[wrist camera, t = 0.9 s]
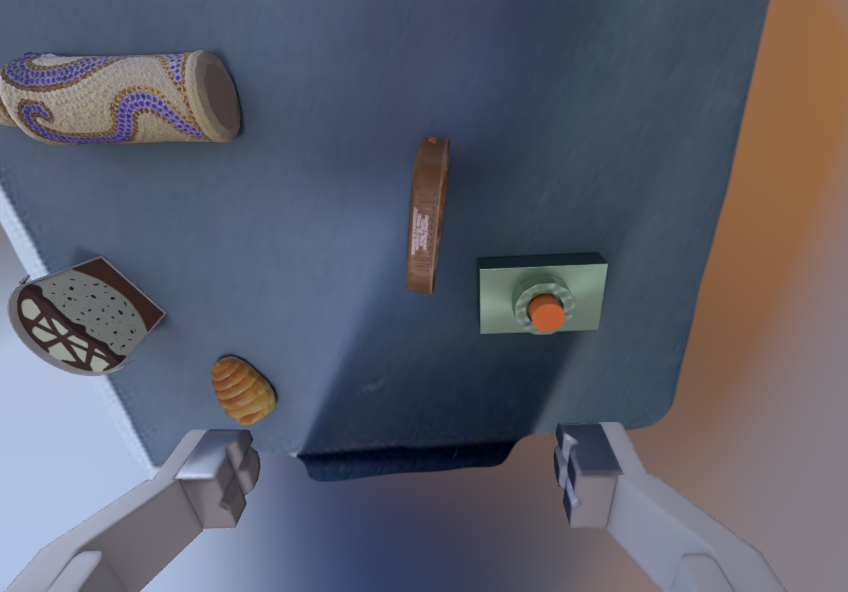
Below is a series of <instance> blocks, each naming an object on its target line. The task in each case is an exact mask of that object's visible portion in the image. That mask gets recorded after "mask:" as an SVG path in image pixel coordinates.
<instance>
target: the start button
mask: <svg viewBox="0 0 848 592" xmlns="http://www.w3.org/2000/svg"><path fill="white" fill-rule="evenodd" d="M529 314H530V317H531V319H532V322H533V325H534V326H535V327H536V328H537V329H539V330H541V331H552V330H555V329H557V328H558V327H560V326H561V324H562V323H563V321H564V318H565V314H564V311H563V309H562V307H561V305H560V303H559V301H558V300H557V299H556V298H555V297H554V296H551V295H540V296H538V297H536V298H534V299H533V300H532V301H531V303H530V305H529Z"/></svg>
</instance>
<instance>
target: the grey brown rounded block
mask: <svg viewBox="0 0 848 592" xmlns="http://www.w3.org/2000/svg"><path fill="white" fill-rule="evenodd" d="M29 277H30V275H27V277H25V278H24V279H23V280H21V281H20V282H19V283H18V284H17V285H16V287H15V288H14V290H13V291H12V292H11V294H10V297H9V299H8V305H7V309H8V316H9V320H10V323H11V325H12V327H13V329H14V331H15V332H16V334H17V336H18V337H19V338H20V339H21V341H22V342H23V343H24V344H25V345H26V346H27V347H28V348H29V349H30V350H31V351H32V352H33V353H34V354H36V355H37V356H38V357H40V358H41V359H43V360H44V361H45V362H47V363H49V364H51V365H53V366H54V367H57V368H59V369H61V370H64V371H67V372H70V373H73V374H77V375H83V376H101V375H106V374H109V373H112V372H115V371H118V370H120V369H121V368H123V367H125V366H127V365H128V364H130V363H132V362H133V361H135V360H132V361H130V362H128V363H126V364H124V362H125V361H126V360H127V359H128V358H129V357H130V355H131V354H132V353H133V352H134V351H135V350H136V349H137V347H138V346H139V345H140V344H141V343H142V342H143V341H144V339H145V338H146V337H147V336H148V335H149V334H150V332H151V331H152V330H153V329H154V328H155V327H156V326H157V324H158V323H159V322H160V321H161V320H162V319H163V318H164V316H165V315H166V314H167V313H166V312H165V311H164V310H163V309H162V308H161V307H160V306H159V305H157V304H156V303H155V302H154V301H153V300H152V299H151V298H150V297H148V296H147V295H146V294H145V293H144V292H143V291H142V290H141V289H139V288H138V287H137V286H136V285H135V284H134V283H133V282H132V281H130V280H129V279H128V278H127V277H126V276H125V275H124V274H123V273H121V272H120V271H119V270H118V269H117V268H116V267H115V266H114V265H112V264H111V263H110V262H109V261H108V260H107V259H106V258H105V257H103V256H102V255H101V256H98V257H95V258H92V259H90V260H87V261H84V262H82V263H79V264H76V265H74V266H71V267H68V268H65V269H63V270H60V271H57V272H55V273H52V274H49V275H47V276H44V277H41V278H38V279H36V280H33V281H30V282H28V283H26V281H27V279H28V278H29ZM123 364H124V365H123Z"/></svg>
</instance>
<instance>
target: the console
mask: <svg viewBox="0 0 848 592" xmlns="http://www.w3.org/2000/svg"><path fill="white" fill-rule="evenodd" d="M607 267H608V263H607V262H606V261H605V260H604V258H603V257H602V256H601V255H600V254H599V253H581V254H560V255H539V256H517V257H496V258H478V321H479V328H480V334H490V333H519V332H530V333H533V334H536V335H540V334H552V333H554V332H556V331H577V330H598V328H599V321H600V314H601V308H602V301H603V294H604V287H605V281H606V274H607ZM540 295H551V296H554V297H555V298H556V299H557V300H558V301H559V303H560V305H561V307H562V309H563V311H564V314H565V318H564V321H563V323H562V324H561V326H560V327H558V328H557V329H555V330H552V331H541V330H539V329H537V328H536V327H535V326H534V325H533V322H532V319H531V317H530V314H529V305H530V303H531V301H532V300H533V299H534V298H536V297H538V296H540Z"/></svg>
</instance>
